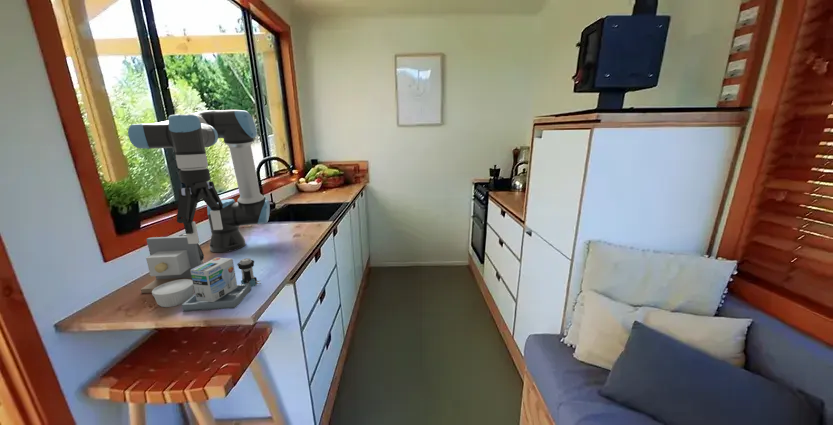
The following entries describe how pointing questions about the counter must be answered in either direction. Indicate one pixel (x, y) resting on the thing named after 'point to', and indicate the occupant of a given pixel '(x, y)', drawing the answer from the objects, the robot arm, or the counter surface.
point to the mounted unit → (170, 260)
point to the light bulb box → (214, 279)
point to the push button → (247, 272)
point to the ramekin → (173, 292)
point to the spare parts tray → (219, 300)
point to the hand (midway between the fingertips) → (206, 236)
